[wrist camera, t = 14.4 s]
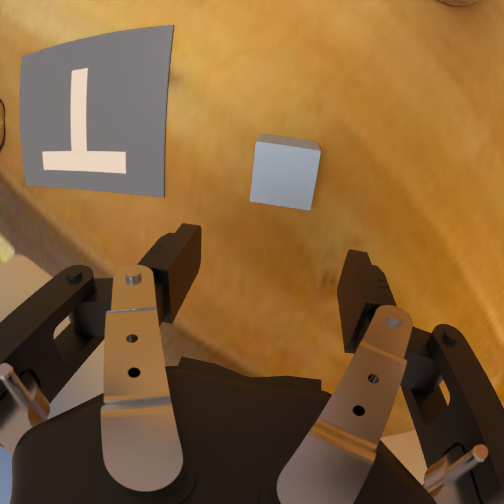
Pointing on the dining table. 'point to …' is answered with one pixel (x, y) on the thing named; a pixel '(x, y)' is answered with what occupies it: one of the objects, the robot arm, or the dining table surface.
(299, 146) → the gray cube
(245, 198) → the dining table surface
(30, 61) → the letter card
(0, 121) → the bread roll
